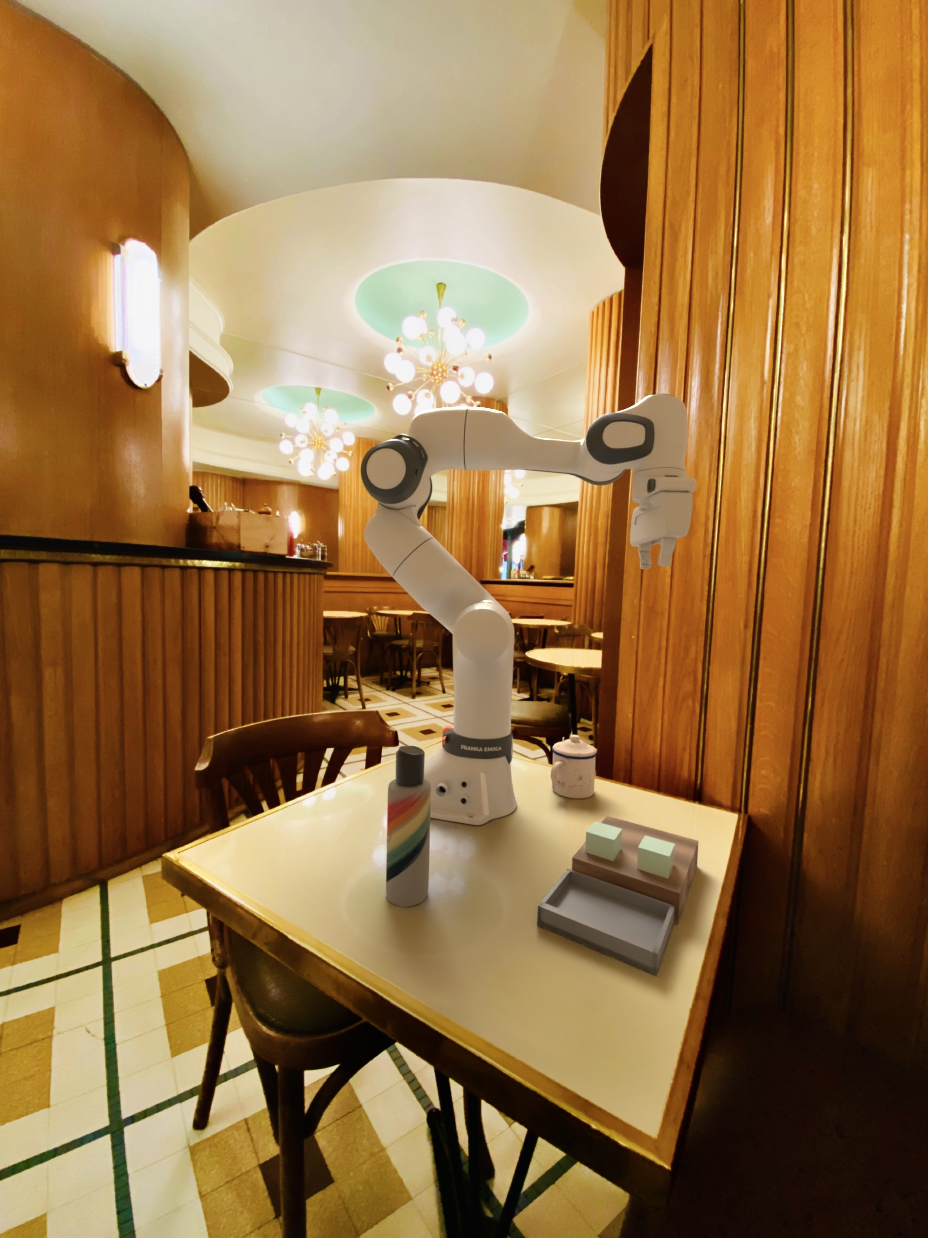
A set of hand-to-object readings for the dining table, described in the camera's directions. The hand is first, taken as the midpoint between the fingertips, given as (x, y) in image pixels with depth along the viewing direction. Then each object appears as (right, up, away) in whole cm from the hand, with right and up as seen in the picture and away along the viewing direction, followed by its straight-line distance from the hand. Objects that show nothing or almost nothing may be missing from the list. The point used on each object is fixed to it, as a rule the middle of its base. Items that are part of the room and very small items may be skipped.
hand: (654, 567), depth 89 cm
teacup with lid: (-13, -45, +13) cm, 49 cm away
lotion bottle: (-42, -47, -23) cm, 67 cm away
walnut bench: (-9, -47, -17) cm, 51 cm away
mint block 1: (-14, -43, -18) cm, 49 cm away
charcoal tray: (-17, -47, -28) cm, 58 cm away
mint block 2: (-8, -43, -22) cm, 49 cm away
